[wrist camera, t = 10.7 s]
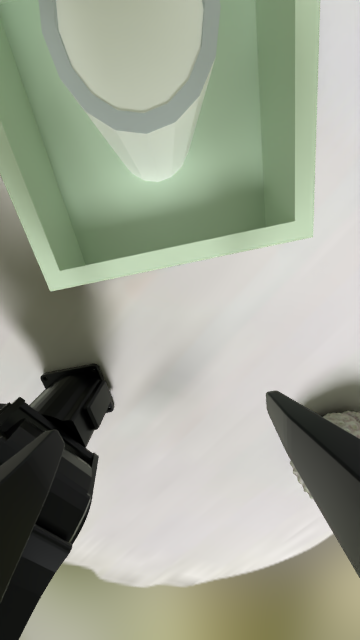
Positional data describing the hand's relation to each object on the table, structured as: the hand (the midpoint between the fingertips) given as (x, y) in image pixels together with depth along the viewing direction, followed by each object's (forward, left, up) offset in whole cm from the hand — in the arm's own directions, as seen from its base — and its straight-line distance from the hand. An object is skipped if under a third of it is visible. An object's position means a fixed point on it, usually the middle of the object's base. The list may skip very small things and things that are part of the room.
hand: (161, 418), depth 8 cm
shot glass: (+2, +15, -11) cm, 19 cm away
